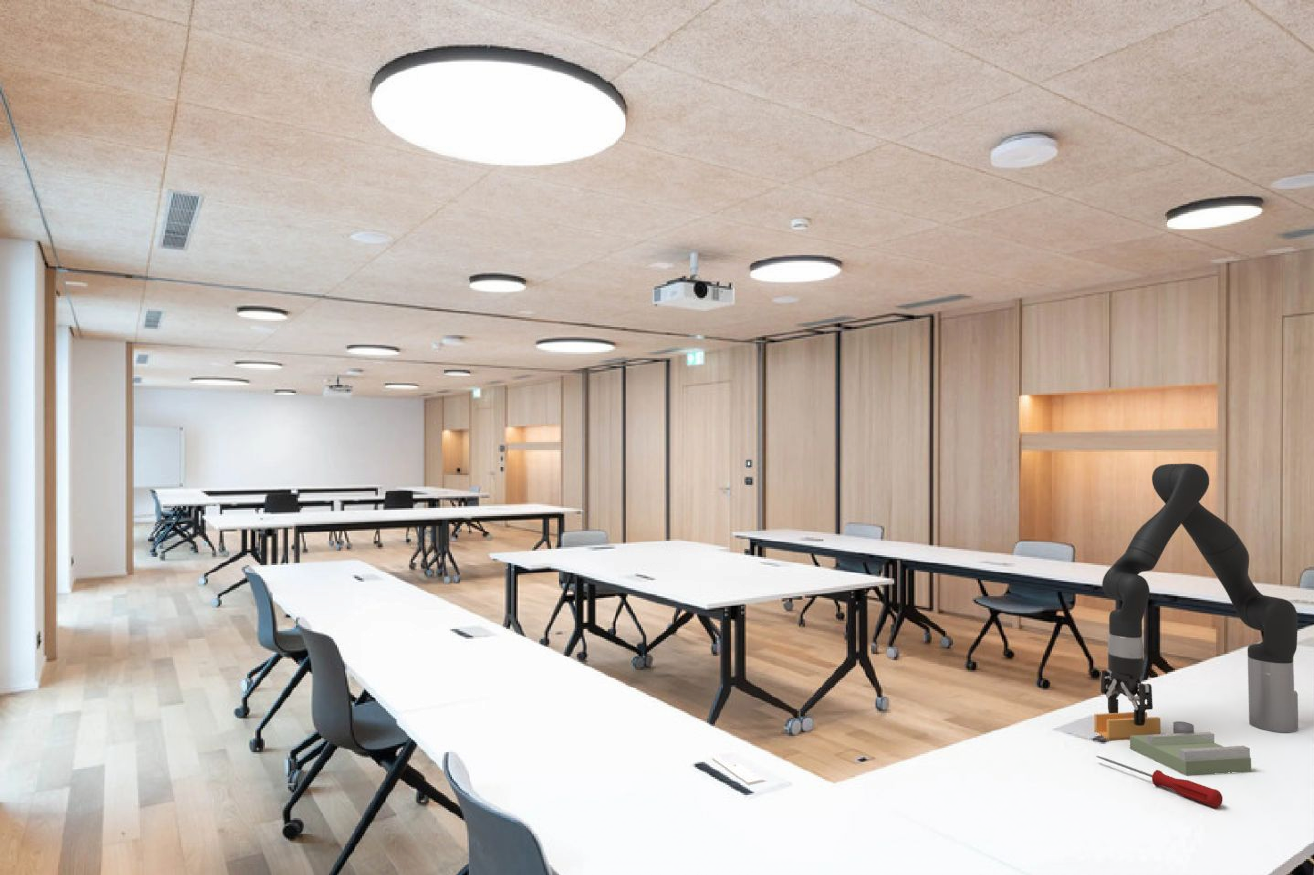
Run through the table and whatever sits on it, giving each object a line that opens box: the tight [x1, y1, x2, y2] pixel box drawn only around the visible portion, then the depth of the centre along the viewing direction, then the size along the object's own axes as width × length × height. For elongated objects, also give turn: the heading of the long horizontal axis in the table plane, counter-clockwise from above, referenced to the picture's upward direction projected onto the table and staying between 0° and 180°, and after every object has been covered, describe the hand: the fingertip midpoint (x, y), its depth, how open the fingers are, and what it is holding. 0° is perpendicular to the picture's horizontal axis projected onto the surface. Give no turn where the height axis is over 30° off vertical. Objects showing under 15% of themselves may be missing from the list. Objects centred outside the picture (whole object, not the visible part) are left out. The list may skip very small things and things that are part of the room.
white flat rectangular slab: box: [712, 755, 767, 786], centre depth 166 cm, size 5×15×1 cm, turn 25°
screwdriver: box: [1095, 755, 1223, 809], centre depth 160 cm, size 4×25×4 cm, turn 26°
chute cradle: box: [1147, 731, 1251, 761], centre depth 171 cm, size 16×10×2 cm, turn 98°
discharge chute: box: [1093, 711, 1162, 742], centre depth 189 cm, size 14×5×5 cm, turn 98°
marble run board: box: [1129, 720, 1252, 777], centre depth 174 cm, size 16×16×6 cm
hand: (1125, 719), depth 189 cm, fingers open, 8 cm apart
